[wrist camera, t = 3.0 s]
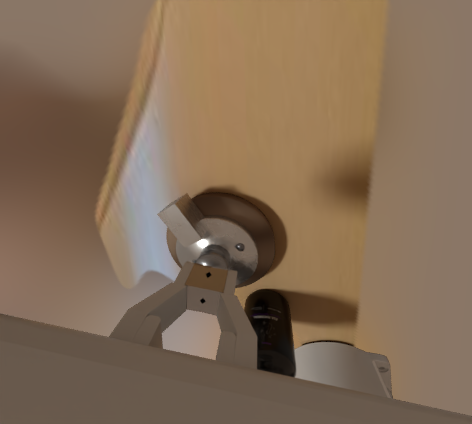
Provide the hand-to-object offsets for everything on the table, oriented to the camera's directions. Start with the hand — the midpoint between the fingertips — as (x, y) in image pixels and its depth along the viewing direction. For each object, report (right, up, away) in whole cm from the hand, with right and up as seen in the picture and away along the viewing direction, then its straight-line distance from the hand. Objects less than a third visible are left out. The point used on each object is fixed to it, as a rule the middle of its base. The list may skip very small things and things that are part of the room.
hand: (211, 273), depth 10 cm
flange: (-2, 0, +12) cm, 12 cm away
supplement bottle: (+6, -11, +18) cm, 22 cm away
